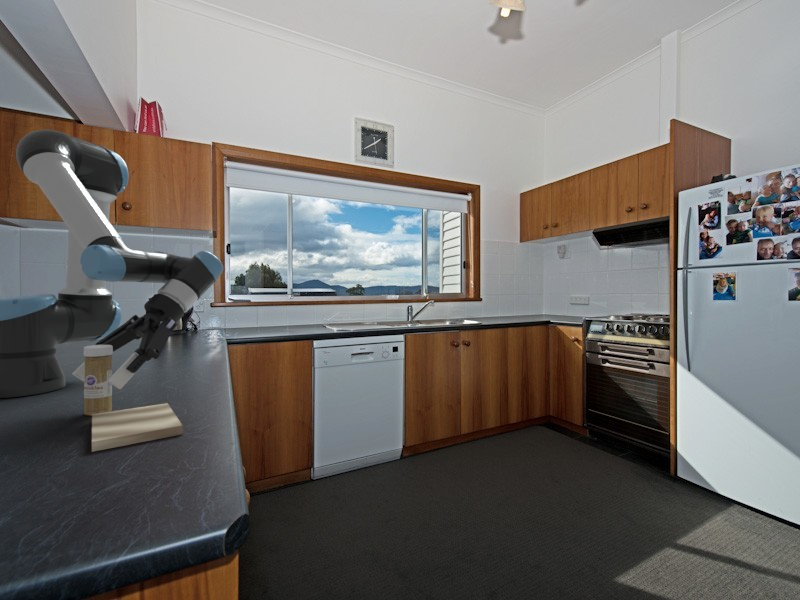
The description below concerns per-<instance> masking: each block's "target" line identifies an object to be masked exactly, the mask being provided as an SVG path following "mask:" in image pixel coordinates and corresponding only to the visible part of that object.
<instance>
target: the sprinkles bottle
mask: <svg viewBox="0 0 800 600" xmlns="http://www.w3.org/2000/svg"><path fill="white" fill-rule="evenodd" d="M113 354H114V352H113V346H112V345H95V344H93V345H92V344H91V345H87V346H84V347H83V357H84V362H85V382H84V381H83V383H84V384H83V387H84V388H83V397H84V411H83V415H85V416H91V417H92V414H97V413H104V412H111V411H113V406H112V405H113V404H112V402H113V399H112V395H113V385H112V384H110V383H109V382H108V381H107V380H108V379H109V378H110V377H111V376H112V375H113V369H112V365H113V363H112V360H113V359H112V358H113Z"/></svg>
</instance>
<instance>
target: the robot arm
mask: <svg viewBox="0 0 800 600" xmlns="http://www.w3.org/2000/svg"><path fill="white" fill-rule="evenodd" d="M15 158H16V161H17V164H18V167H19V169H20V170H21V171H22V173H23V175H24V176H25V177H26V179H28V180H29V181H30V182H31V183H33V184H35V185H38V187H39V189H40V190H41V191H42V193H43V194H44V195H45V197H46V198H47V200H48V201H49V203H50V204H51V205H52V206H53V208H54V210H55V211H56V213H57V214H58V215H59V216H60V218H61V220H62V221H63V222H64V224H65V225H66V226H67V228H68V236H67V237H68V238H67V256H66V259H67V260H66V276H65V281H66V282H65V286H64V287H63V288H62V289H60V290H59V291H58V293H57V296H56V295H55V294H52V293H51V294H49V293H46V294H45V293H44V294H43V293H42V294H39V293H38V294H28V295H15V296H9V297H8V296H6V297H1V298H0V399H3V398H4V399H7V398H17V397H26V396H33V395H39V394H44V393H49V392H54V391H57V390H61V389H64V388H65V387H66V376H65V374H64V372H63V369H62V367H61V365H60V363H59V360H58V358H57V345H61V344H63V345H64V344H71V343H79V342H95V341H98V342H96V343H95V344H94V345H112V346H113V353H114V352H115V351H117V350H119V349H120V348H122V347H124V346H125V345H127V344H129V343H131V342H133V341H134V340H140V339H141V341H140V344H139V347H138V348H136V349H135V350H134V352H133V353H132V354H131V355H130V356H129V357H128V358H127V359H126V360H125V361H124V362H123V364H121V366H119V368H118V369H117V370H116V371H115V372H114V373H112V376H111V377H110V378H109V379H108V380H107V381H108V382H109V383H110V384H112V387H115V388H117V389H118V390H122V389H123V387H124V386H125V385H127V383H128V382H129V381H130V380H131V378H132V377H133V376H134V375H135V374H136V373H137V372H138V371H139V370H140V369H141V367H143V365H144V364H145V363H146V362H149V361H150V360H151V359H153V360H157V359H158V358H159V357H160V356H161V353H162V352H163V350H164V348H165V346H166V344H167V342H168V340H169V338H170V336H171V334H172V332H173V331H174V330H175V329H176V327H177V326H178V322H179V321H180V320H181V319H182V318H183V317H184V316H185V313H188V311H189V310H190V309H193V307H194V305H195V303H196V302H197V301H198V300H199V299H200V298H201V297H202V296H203V295H204V294H205V293H206V292H207V291H208V290H209V288H211V287H212V286H213V285H214V283H216V282H217V280H218V279H219V277H220V276H221V275H222V274H223V271H224V264H223V263H222V261H221V260H220V258H218V256H216V255H214V254H213V253H212V252H210V251H207V250H200V251H199V252H197V253H196V254H194V255H193V256H192V257H188V256H180V255H177V254H171V253H168V252H165V251H158V250H157V251H156V250H152V251H151V250H150V251H147V250H141V249H134V248H129V247H128V245H127V244H126V242H125V241H124V240H123V238H122V237H121V235H120V234H119V233H118V232H117V230H116V229H115V226H113V224H112V223H111V222H110V215H111V214H110V211H111V210H110V209H111V203H112V202H114V201H115V200H117V199H118V194H120V193H123V192H124V190H126V187H127V186H128V183H129V177H130V176H129V175H130V174H129V169H128V166H127V163H126V161H125V160H124V159H123V158H122V156H120V155H119V153H117V152H115V151H113V150H110V149H108V148H107V147H105V146H103V145H98V144H95V143H92V142H89V141H86V140H83V139H81V138H77V137H75V136H72V135H69V134H67V133H64V132H63V131H59V130H55V129H37V130H34V131H31V132H28V133H27V134H26V135H24V136H23V137H22V138H21V139H20V140H19V142H18V143H17V145H16V150H15ZM107 282H111V283H112V282H113V283H115V282H121V283H122V282H123V283H125V282H126V283H127V282H131V283H135V282H136V283H150V284H151V283H153V284H163V285H162V286H161V287H160V288H159V289H158V290H157V291H156V293H155V294H154V295H153V296H152V297H150V298H149V300H146V301H147V302H145V303H144V305H143V306H144V310H145V314H143V315H142V316H140V317H139V316H138V315H137V314H134V315H133V316H131V317H130V318H129V319H128V320H127V321H126V322H124V323H123V324H122V325H121V322H122V317H123V316H122V315H123V314H122V308H121V307H120V304H119V303H118V301H116V300H115V299H113V293H112V292H111V291H110V290H109V289H107ZM71 375H73V376H74V377H76V378H77V379H78V380H80V381H82V382H83V383H84V382H85V361H83V362H82V363H81V364H80V365H79V366H78V367H77V368H76V369H75V370H74V371H73V372H72V373H71Z"/></svg>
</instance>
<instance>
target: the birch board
mask: <svg viewBox="0 0 800 600" xmlns="http://www.w3.org/2000/svg"><path fill="white" fill-rule="evenodd" d="M183 427H184V426H183V423H181V421H180V420H179V418H178V416H177V415H176V413H175V411H173V409H172V408H171V406H170V405H169V403H168V402H166V403H161V404H160V403H159V404H152V405H146V406H139V407H133V408H126V409H125V408H124V409H118V410H111V411H110V412H104V413H97V414H92V416H91V452H92V453H93V452H99V451H104V450H108V449H113V448H114V449H115V448H119V447H124V446H129V445H133V444H139V443H144V442H149V441H155V440H160V439H165V438H169V437H174V436H175V437H176V436H180V435H183V433H184V432H183Z"/></svg>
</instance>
